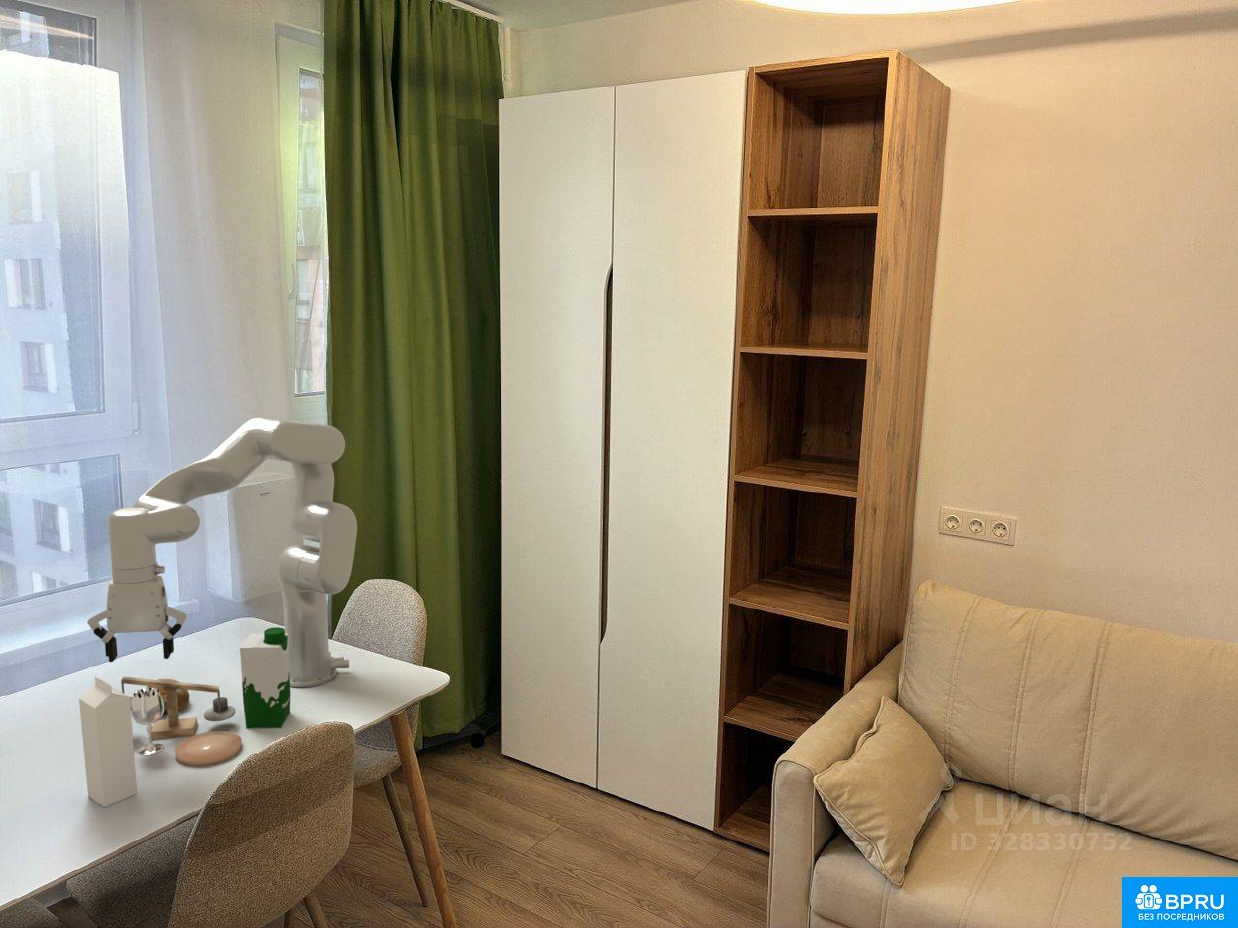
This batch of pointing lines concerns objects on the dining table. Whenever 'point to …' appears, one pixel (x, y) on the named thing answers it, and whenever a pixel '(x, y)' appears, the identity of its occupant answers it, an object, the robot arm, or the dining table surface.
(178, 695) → the bread roll
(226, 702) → the balance
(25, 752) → the dining table surface
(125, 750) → the milk
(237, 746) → the dish
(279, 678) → the milk carton
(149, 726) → the wineglass
